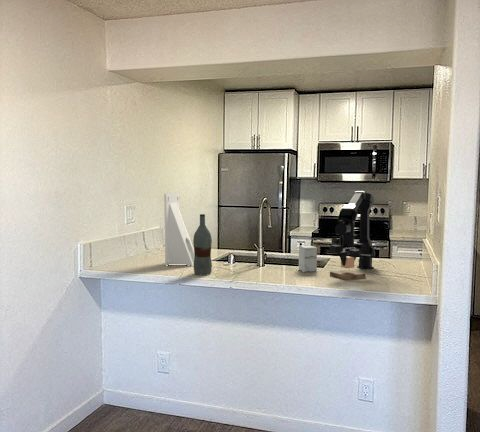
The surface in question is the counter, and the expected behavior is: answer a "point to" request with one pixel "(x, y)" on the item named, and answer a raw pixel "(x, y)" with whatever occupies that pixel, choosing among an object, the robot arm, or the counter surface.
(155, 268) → the counter surface
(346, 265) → the terracotta block
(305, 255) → the supplement box
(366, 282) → the counter surface
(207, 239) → the bottle
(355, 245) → the robot arm
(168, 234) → the white bracket plate
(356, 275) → the walnut base
